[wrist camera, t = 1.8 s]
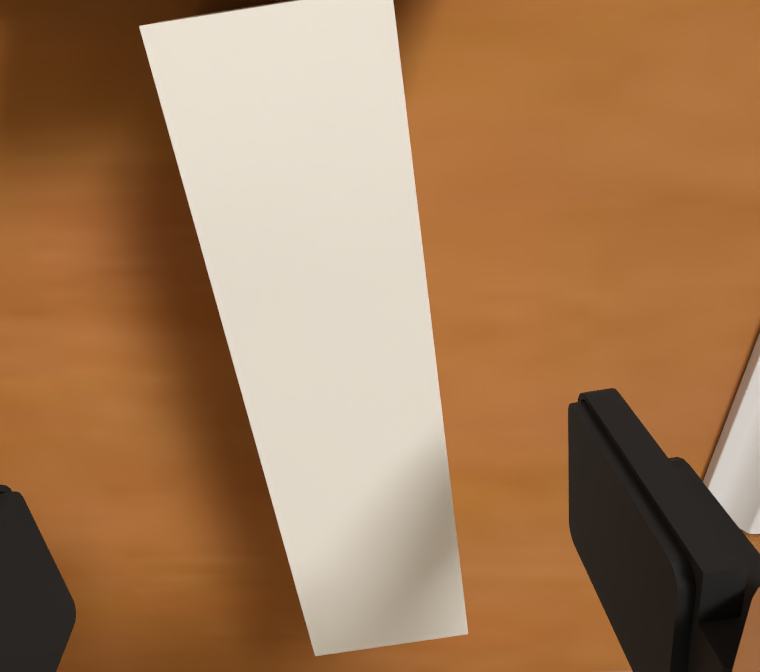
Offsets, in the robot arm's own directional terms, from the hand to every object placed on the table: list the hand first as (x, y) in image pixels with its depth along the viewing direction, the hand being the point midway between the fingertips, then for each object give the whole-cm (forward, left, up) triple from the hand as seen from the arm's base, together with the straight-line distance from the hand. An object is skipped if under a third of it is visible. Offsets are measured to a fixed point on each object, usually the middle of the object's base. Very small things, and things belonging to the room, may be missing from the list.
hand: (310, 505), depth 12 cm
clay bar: (-1, 0, -8) cm, 8 cm away
